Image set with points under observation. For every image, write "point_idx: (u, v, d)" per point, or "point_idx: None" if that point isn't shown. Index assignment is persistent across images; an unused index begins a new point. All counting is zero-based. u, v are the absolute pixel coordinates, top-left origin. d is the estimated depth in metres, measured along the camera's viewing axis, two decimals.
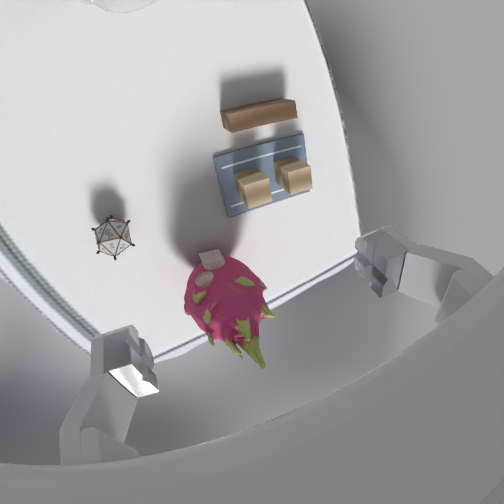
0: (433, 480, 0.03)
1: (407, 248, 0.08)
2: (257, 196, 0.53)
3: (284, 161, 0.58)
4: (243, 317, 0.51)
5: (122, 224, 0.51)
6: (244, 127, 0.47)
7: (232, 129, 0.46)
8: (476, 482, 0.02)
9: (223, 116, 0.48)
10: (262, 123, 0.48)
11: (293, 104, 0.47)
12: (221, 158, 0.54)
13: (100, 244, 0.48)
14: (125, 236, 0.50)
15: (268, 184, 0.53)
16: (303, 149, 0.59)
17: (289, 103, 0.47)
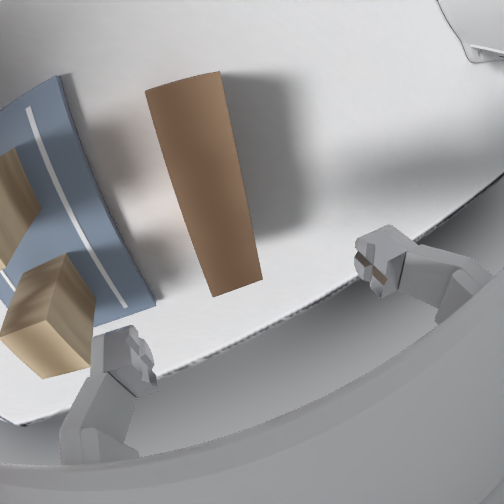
0: (433, 480, 0.03)
1: (407, 248, 0.08)
2: None
3: (76, 282, 0.18)
4: None
5: None
6: (165, 136, 0.12)
7: (157, 91, 0.11)
8: (476, 482, 0.02)
9: None
10: (184, 199, 0.14)
11: (251, 278, 0.19)
12: (54, 98, 0.12)
13: None
14: None
15: None
16: (120, 313, 0.23)
17: (254, 267, 0.18)
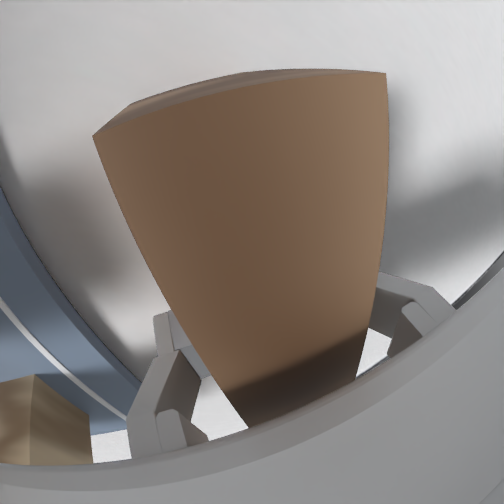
0: (433, 480, 0.03)
1: None
2: None
3: (58, 411, 0.10)
4: None
5: None
6: (195, 299, 0.04)
7: (150, 132, 0.02)
8: (476, 482, 0.02)
9: (233, 76, 0.06)
10: (244, 399, 0.06)
11: None
12: None
13: None
14: None
15: None
16: (123, 426, 0.15)
17: None
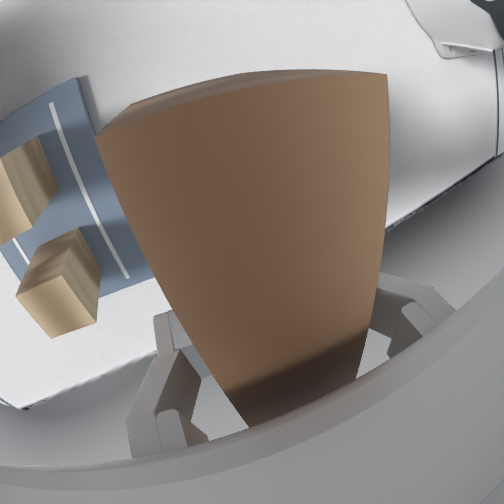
0: (433, 480, 0.03)
1: None
2: None
3: (86, 252, 0.22)
4: None
5: None
6: (197, 300, 0.04)
7: (152, 133, 0.02)
8: (476, 482, 0.02)
9: (234, 77, 0.06)
10: (245, 399, 0.06)
11: None
12: (74, 96, 0.16)
13: None
14: None
15: (17, 231, 0.13)
16: (122, 284, 0.26)
17: None
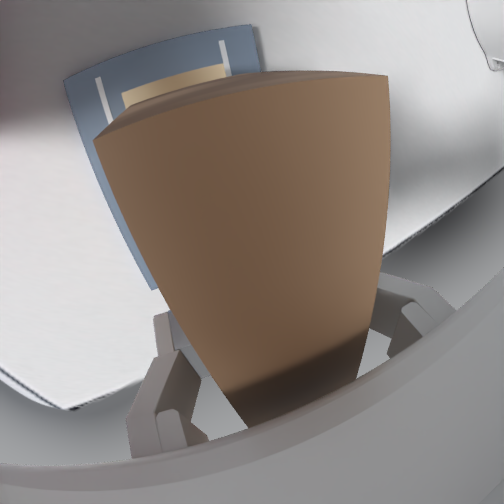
0: (433, 480, 0.03)
1: None
2: None
3: None
4: None
5: None
6: (197, 303, 0.04)
7: (151, 137, 0.02)
8: (476, 482, 0.02)
9: (234, 78, 0.06)
10: (245, 401, 0.06)
11: None
12: (248, 41, 0.16)
13: None
14: None
15: None
16: None
17: None
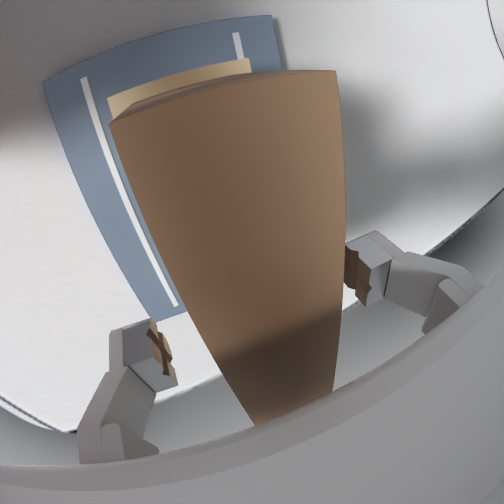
0: (433, 480, 0.03)
1: (392, 255, 0.08)
2: None
3: None
4: None
5: None
6: (183, 254, 0.05)
7: (150, 122, 0.03)
8: (476, 482, 0.02)
9: (222, 78, 0.07)
10: (230, 361, 0.07)
11: None
12: (268, 35, 0.13)
13: None
14: None
15: None
16: None
17: None
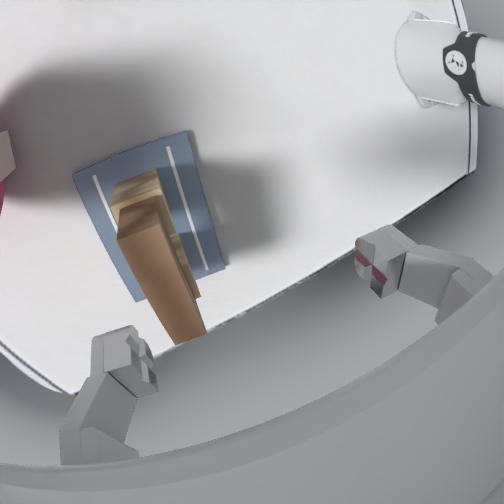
0: (433, 480, 0.03)
1: (407, 248, 0.08)
2: None
3: None
4: None
5: None
6: (133, 264, 0.21)
7: (124, 240, 0.19)
8: (476, 482, 0.02)
9: (146, 207, 0.23)
10: (149, 295, 0.23)
11: (199, 333, 0.27)
12: (185, 144, 0.30)
13: None
14: None
15: None
16: (202, 274, 0.40)
17: (200, 327, 0.27)
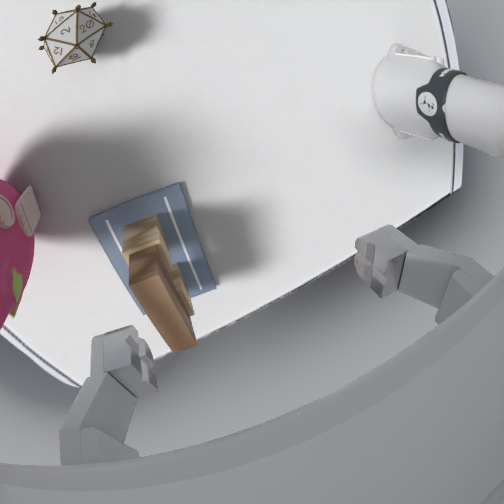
0: (433, 480, 0.03)
1: (407, 248, 0.08)
2: None
3: (182, 276, 0.44)
4: None
5: (92, 50, 0.21)
6: (141, 300, 0.29)
7: (134, 285, 0.28)
8: (476, 482, 0.02)
9: (149, 256, 0.31)
10: (153, 320, 0.31)
11: (191, 344, 0.36)
12: (179, 194, 0.38)
13: (72, 12, 0.15)
14: (72, 54, 0.19)
15: None
16: (197, 293, 0.48)
17: (191, 340, 0.35)
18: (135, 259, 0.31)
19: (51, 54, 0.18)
